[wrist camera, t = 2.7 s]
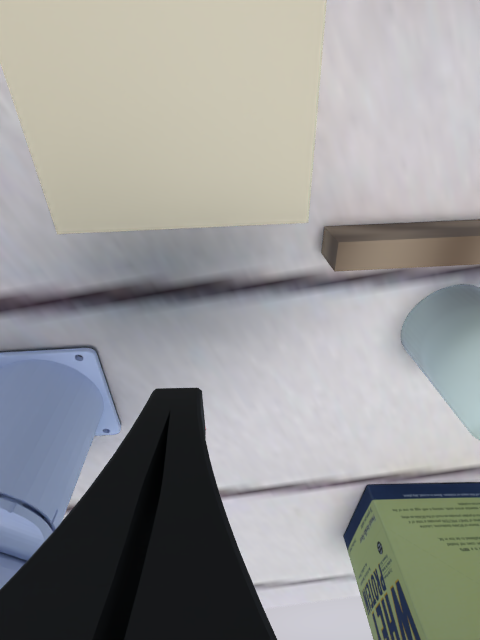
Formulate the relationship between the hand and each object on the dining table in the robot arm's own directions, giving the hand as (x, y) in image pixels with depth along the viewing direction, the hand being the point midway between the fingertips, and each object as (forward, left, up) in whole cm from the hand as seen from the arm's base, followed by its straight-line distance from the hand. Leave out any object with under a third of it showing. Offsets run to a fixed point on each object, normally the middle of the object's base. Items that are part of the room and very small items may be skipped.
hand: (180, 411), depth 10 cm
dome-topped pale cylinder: (+16, -5, -10) cm, 20 cm away
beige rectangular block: (0, +7, -11) cm, 13 cm away
